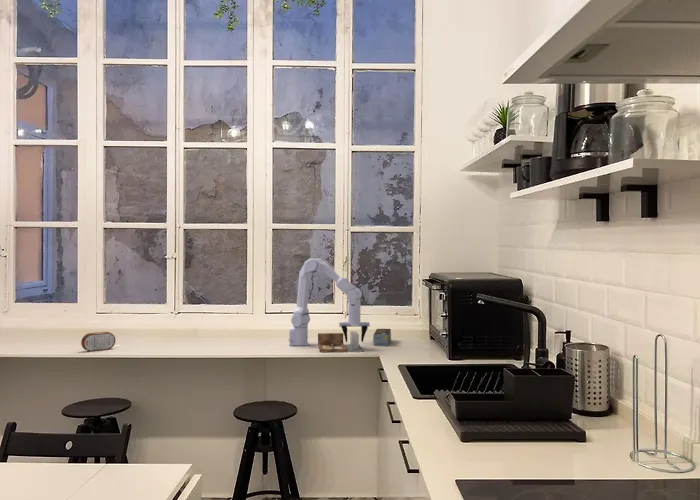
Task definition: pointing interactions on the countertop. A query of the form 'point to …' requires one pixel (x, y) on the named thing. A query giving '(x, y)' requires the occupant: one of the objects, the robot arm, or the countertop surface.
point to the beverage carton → (382, 337)
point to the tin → (98, 341)
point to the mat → (352, 349)
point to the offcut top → (326, 346)
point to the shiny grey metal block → (354, 340)
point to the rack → (331, 342)
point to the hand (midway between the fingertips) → (354, 341)
